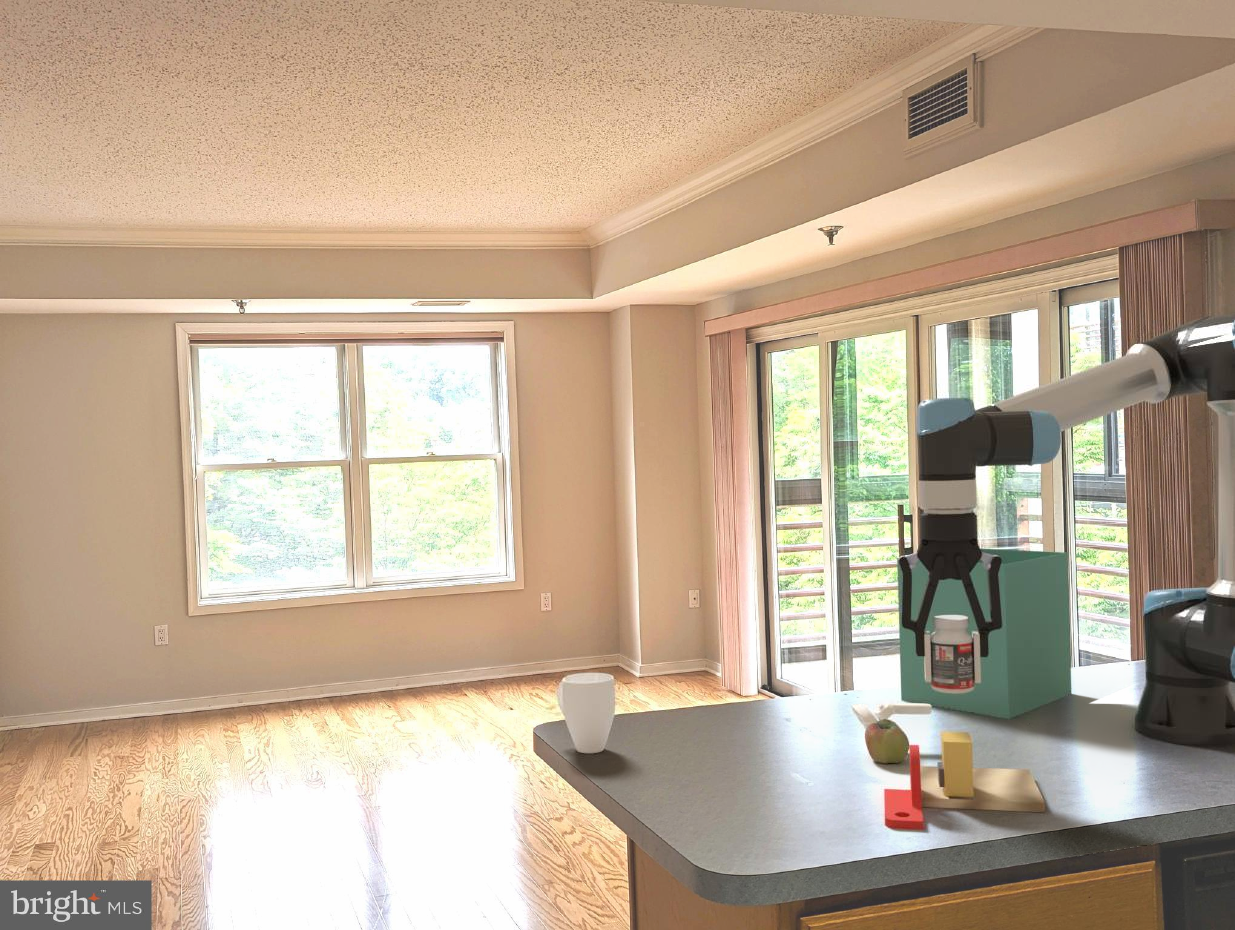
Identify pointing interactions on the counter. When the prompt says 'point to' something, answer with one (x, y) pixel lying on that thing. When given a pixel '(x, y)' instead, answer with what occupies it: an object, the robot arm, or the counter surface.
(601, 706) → the mug
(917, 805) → the bracket
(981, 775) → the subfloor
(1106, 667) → the counter surface
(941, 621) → the pill bottle
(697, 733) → the counter surface
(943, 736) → the block
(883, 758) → the apple
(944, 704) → the box
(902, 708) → the hook
